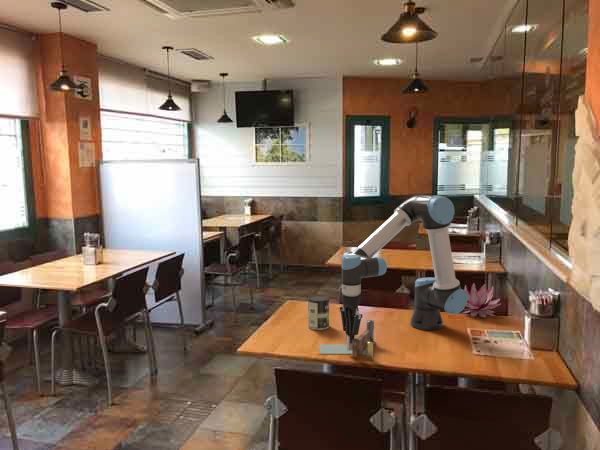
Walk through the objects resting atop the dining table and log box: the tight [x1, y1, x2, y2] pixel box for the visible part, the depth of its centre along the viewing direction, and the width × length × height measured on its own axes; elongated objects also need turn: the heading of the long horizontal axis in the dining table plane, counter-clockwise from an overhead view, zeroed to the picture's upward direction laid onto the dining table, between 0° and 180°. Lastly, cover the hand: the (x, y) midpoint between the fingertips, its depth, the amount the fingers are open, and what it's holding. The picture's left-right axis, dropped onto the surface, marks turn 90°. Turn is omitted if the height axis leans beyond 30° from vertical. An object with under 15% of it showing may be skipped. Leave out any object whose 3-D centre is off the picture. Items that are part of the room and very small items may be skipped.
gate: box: [351, 328, 371, 358], centre depth 195 cm, size 17×2×7 cm, turn 153°
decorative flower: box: [462, 282, 501, 319], centre depth 242 cm, size 21×21×15 cm
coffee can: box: [307, 294, 330, 331], centre depth 227 cm, size 10×10×14 cm
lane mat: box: [318, 343, 367, 355], centre depth 198 cm, size 20×10×1 cm, turn 88°
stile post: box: [366, 341, 374, 362], centre depth 188 cm, size 2×2×7 cm
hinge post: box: [366, 319, 377, 346], centre depth 204 cm, size 5×5×10 cm
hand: (350, 349), depth 193 cm, fingers closed
